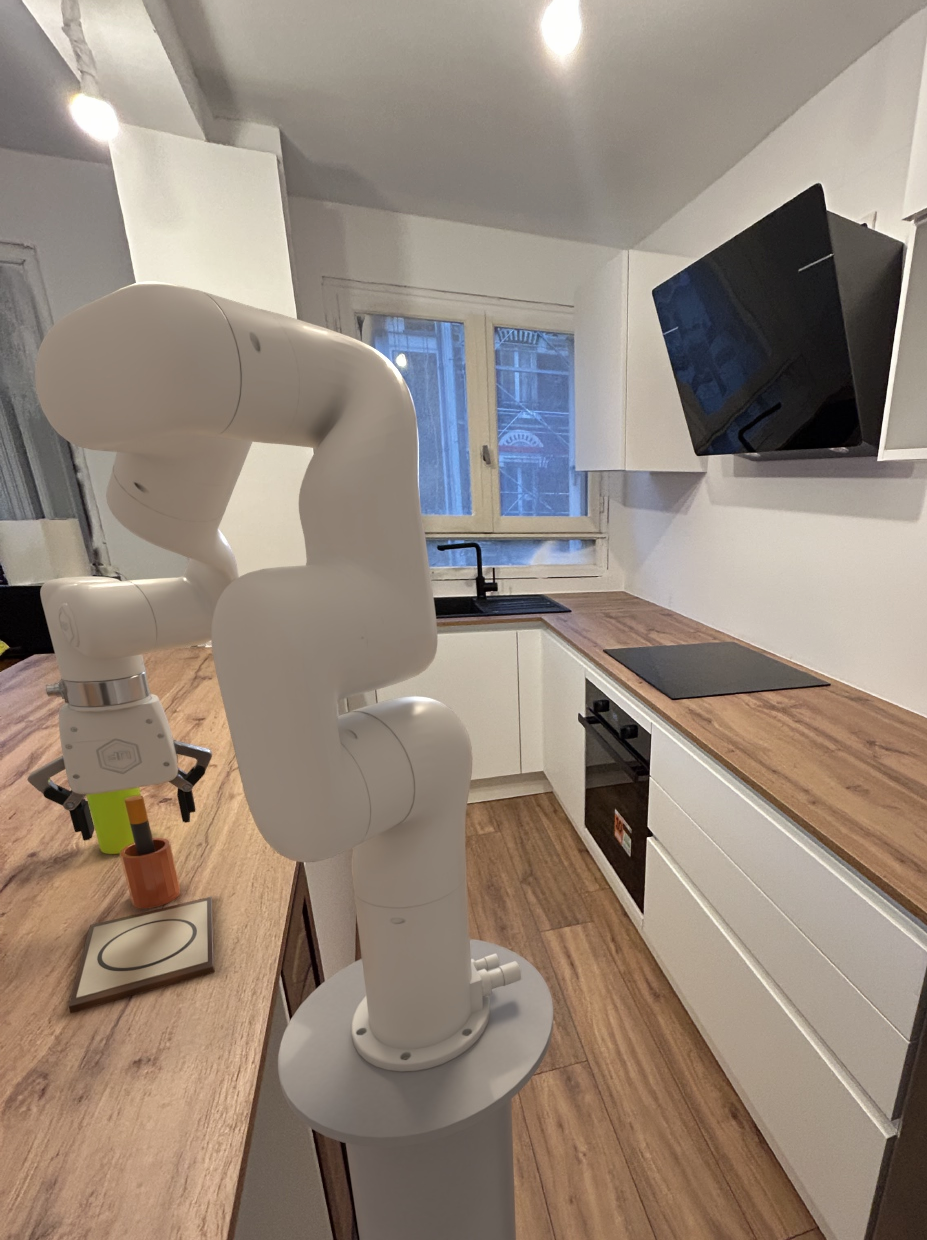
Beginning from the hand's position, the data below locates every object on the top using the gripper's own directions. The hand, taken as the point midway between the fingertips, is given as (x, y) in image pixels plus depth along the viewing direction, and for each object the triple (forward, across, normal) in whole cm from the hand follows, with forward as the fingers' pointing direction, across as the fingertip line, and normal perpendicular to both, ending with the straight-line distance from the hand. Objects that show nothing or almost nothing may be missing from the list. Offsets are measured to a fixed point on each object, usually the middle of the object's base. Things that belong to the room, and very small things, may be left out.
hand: (139, 826), depth 78 cm
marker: (+9, 0, 0) cm, 9 cm away
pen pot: (+10, 0, 0) cm, 10 cm away
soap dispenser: (+10, -4, +18) cm, 21 cm away
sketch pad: (+10, 0, -12) cm, 16 cm away
